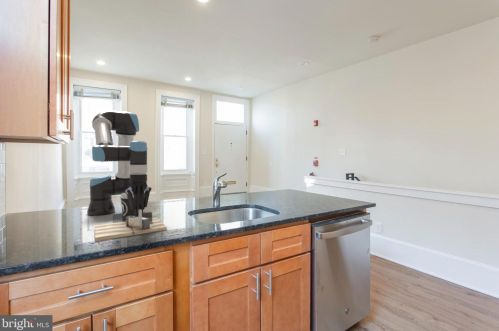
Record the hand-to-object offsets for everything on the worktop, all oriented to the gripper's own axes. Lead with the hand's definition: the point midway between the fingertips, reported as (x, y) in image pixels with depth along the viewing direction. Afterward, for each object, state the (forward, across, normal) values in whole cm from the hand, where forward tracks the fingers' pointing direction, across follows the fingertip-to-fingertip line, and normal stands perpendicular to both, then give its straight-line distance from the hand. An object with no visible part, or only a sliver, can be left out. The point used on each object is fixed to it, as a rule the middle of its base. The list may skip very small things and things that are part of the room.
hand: (138, 223), depth 117 cm
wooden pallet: (+4, -1, -8) cm, 9 cm away
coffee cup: (+4, -12, -26) cm, 29 cm away
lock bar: (+3, -2, -4) cm, 6 cm away
